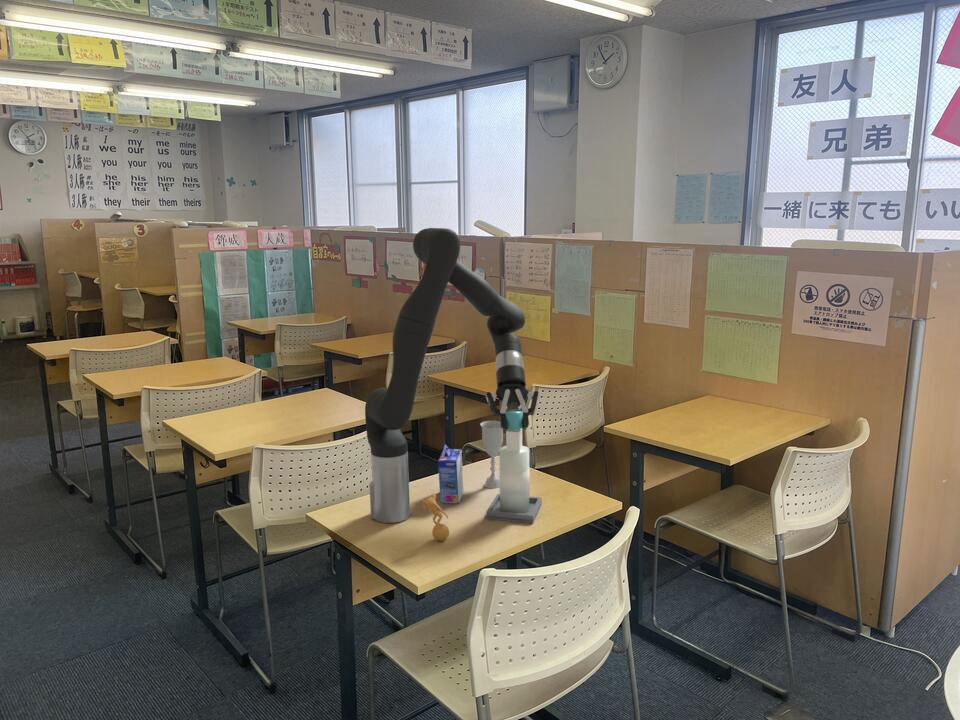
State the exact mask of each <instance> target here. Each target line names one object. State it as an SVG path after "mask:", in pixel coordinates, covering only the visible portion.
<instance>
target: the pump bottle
mask: <svg viewBox="0 0 960 720" xmlns="http://www.w3.org/2000/svg"><path fill="white" fill-rule="evenodd" d="M505 434H506V435H505V437H506V438H505V439H506V440H505V441H506V443H505V445H504V446H501V448H500V449H499V453H498V454H499V467H498V468H499V469H498V470H499V473H498V474H499V476H498V477H499V480H500V487H499V493H497V494H496V495H495V497H494V499H493V500H492V502H491V503H490V505H489V506H488V508H487V510H486V512H485V513H486V514H485V515H486V517H485V518H486V519H487V520H496V521H505V522H506V521H507V522H515V523H516V522H517V523H527V524H534V523H535V520H536V518H537V516H538V513H539V511H540V509H541V507H542V504H543V503H542V497H539V496H530V481H531V479H530V477H531V476H530V475H531V473H530V470H531V469H530V448H529V447H527V446H525V445H523V428H520V429H517V432H514V431H511V429H508V428H507V429H506V431H505Z"/></svg>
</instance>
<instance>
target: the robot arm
mask: <svg viewBox="0 0 960 720" xmlns="http://www.w3.org/2000/svg"><path fill="white" fill-rule="evenodd" d="M412 249H413V253H414V254H415V256H416V258H417V259H418V260H419V262H420V261H421V263H423V264H424V265H425V267H424V270H423V274H422V276H421V278H420V281H419V282H418V285H416V286H415V289H414V290H413V291H412V293H411V294H410V295H409V296H408V297H407V298H406V300H405V302H404V303H403V305H402V307H401V309H400V311H399V313H398V315H397V316H398V317H397V320H396V323H395V326H394V330H393V334H392V357H393V360H392V361H393V363H392V374H391V376H390V381H389V383H388V386H387V387H379V388H375V389H373V390H372V392H370V393H369V395H368V396H367V399H366V401H365V407H364V418H365V428H366V438H367V442H368V444H369V447H370V456H371V458H370V459H371V460H370V461H371V479H372V481H370V482H369V487H368V488H369V505H370V519H371V520H375V521H377V522H379V523H384V524H395V523H401V522H404V521H406V520H407V519H408V518H410V516H411V504H410V501H411V500H410V475H409V473H410V471H409V451H408V447H409V446H408V445H409V444H408V440H407V439H406V437H405V436H404V434H403V432H402V430H401V428H403V427H404V426H406V424H408V422H409V420H410V417H411V416H412V412H413V408H414V403H415V398H416V393H417V386H418V381H419V379H420V375H421V371H422V368H423V363H424V361H425V357H426V354H427V350H428V347H429V344H430V341H431V338H432V334H433V331H434V328H435V324H436V320H437V316H438V313H439V310H440V307H441V304H442V301H443V297H444V295H445V291H446V288H447V285H448V283H449V284H450V285H451V286H453V287H454V288H455V290H457V291H458V292H459V293H460V294H461V295H462V296H463V297H464V298H465V299H466V300H467V301H468V302H469V303H470V304H471V306H473V307H474V308H475V309H476V311H477V312H479V314H480V315H482V316H484V317H488V319H487V321H486V326H487V330H488V332H489V334H490V336H491V339H492V343H493V344H494V349H495V351H494V352H495V378H496V390H495V391H494V392H490V391H488V392H486V395H485V400H486V403H487V404H488V407H489V410H490V411H491V414H492V416H493V417H498V418H499V421H500V426H501V428H503V432H504V431H505V432H506V431H507V430H508V428H507V424H506V414H505V411H506V410H508V408H509V407H517V409H519V410H522V411H523V428H522V431H526V430H527V428H529V425H530V423H529V422H530V421H529V416H534V415H535V412H536V407H537V403H538V399H539V391H538V390H534V391H529V389H528V388H527V385H526V384H527V382H526V375H525V374H526V373H525V364H524V359H523V354H522V344H521V340H520V338H519V337H518V336H516V335H515V334H512V333H515V332H517V331H519V330H521V329H522V328H523V327H524V326H525V324H526V317H525V314H524V312H523V311H522V309H521V308H520V307H519V306H518V305H516V304H515V303H514V302H512V301H510V300H508V299H506V298H505V297H503V296H501V295H499V293H498V292H497V291H495V289H494V288H493V287H492V286H491V285H490V284H489V283H488V281H486V280H485V279H484V278H483V277H482V276H480V275H479V274H477V273H476V272H474V270H471V269H470V268H468V267H467V266H465V265H464V264H463V263H462V262H461V261H459V259H458V258H459V256H460V252H461V241H460V237H459V234H457V233H456V231H455V230H453V229H451V228H445V227H427V228H424V229H421V230H420V231H418V232H417V233H416V235H415V236H414V239H413V242H412ZM528 397H529V400H530V401H531V403H530V407H527V405H526V399H527V398H528ZM496 398H497V399H498V400H499V401H500V403H501V407H500V409H499V408H498V407H497V405H496Z"/></svg>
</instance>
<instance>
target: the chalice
mask: <svg viewBox="0 0 960 720" xmlns="http://www.w3.org/2000/svg"><path fill="white" fill-rule="evenodd" d="M479 424H480V427H481V432H482V433H481V434H482V435H481V436H482V438H481V439H482V440H481V441H482V443H483V447H484V449H485V451H486V454H487V455H488V456H490V461H489V464H490V465H491V466H490V468H489V469H490V471H491V474H490V475H489V476H488V477H487V478H486V480H485V483H484V487H485V486H486V488H489V489H499V488H500V476H498V475H496V473H495V471H496V470H497V468H496V467H495V466H496V461H495V458H496V456H498V454H499V449H500V448H501V447H503V446H502V445H503V442H504V430H503V428H501V426H500V420H486V421H485V420H484V421H482V422H480V423H479Z"/></svg>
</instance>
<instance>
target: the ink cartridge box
mask: <svg viewBox="0 0 960 720" xmlns="http://www.w3.org/2000/svg"><path fill="white" fill-rule="evenodd" d="M442 449H443V450H442V452H441V454H440V456H439V458H438V461H437V465H438V468H437V469H438V483H439V485H438V486H439V496H440V499H439V500H440V503H441V504H460V502H461V500H462V499H461V498H462V495H463V493H464V474H463V455H462V453H463V452H462V451H463V450H462V449H461V448H449V446H448V445H447V444H444V446H443V448H442Z"/></svg>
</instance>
